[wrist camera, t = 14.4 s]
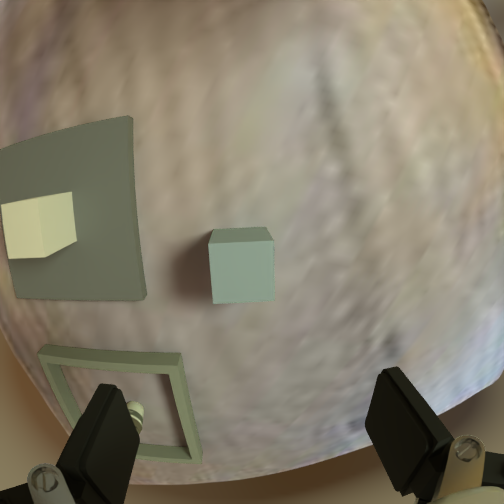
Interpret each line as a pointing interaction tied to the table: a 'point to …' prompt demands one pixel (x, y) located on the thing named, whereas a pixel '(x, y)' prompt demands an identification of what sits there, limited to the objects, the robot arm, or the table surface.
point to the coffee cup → (136, 414)
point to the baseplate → (80, 211)
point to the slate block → (242, 265)
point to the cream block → (38, 225)
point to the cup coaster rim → (127, 362)
